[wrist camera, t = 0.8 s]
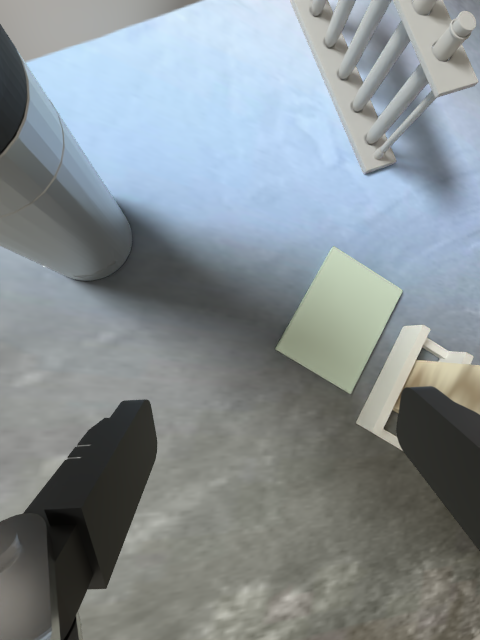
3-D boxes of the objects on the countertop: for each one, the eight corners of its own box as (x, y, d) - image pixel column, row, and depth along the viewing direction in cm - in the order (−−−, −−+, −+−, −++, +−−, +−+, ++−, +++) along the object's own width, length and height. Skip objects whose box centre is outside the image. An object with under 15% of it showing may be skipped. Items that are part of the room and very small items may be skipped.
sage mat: (347, 393, 31) (350, 394, 30) (274, 349, 30) (276, 349, 30) (399, 291, 33) (402, 290, 32) (331, 247, 32) (333, 246, 31)
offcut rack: (475, 493, 32) (549, 536, 25) (355, 423, 31) (399, 446, 24) (515, 396, 34) (595, 411, 27) (403, 326, 32) (457, 322, 25)
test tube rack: (392, 165, 34) (508, 56, 21) (363, 175, 34) (463, 68, 20) (317, -10, 35) (384, -222, 22) (287, -4, 34) (337, -218, 21)
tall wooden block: (405, 417, 32) (605, 495, 16) (381, 403, 31) (560, 466, 15) (426, 373, 32) (637, 404, 17) (402, 358, 32) (593, 375, 16)
